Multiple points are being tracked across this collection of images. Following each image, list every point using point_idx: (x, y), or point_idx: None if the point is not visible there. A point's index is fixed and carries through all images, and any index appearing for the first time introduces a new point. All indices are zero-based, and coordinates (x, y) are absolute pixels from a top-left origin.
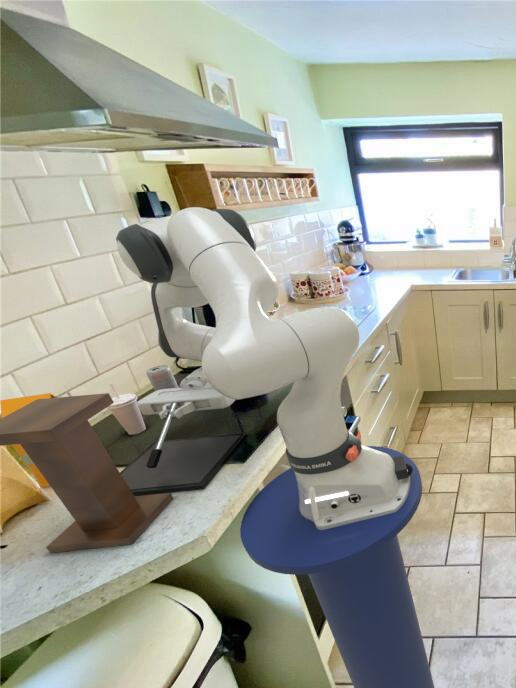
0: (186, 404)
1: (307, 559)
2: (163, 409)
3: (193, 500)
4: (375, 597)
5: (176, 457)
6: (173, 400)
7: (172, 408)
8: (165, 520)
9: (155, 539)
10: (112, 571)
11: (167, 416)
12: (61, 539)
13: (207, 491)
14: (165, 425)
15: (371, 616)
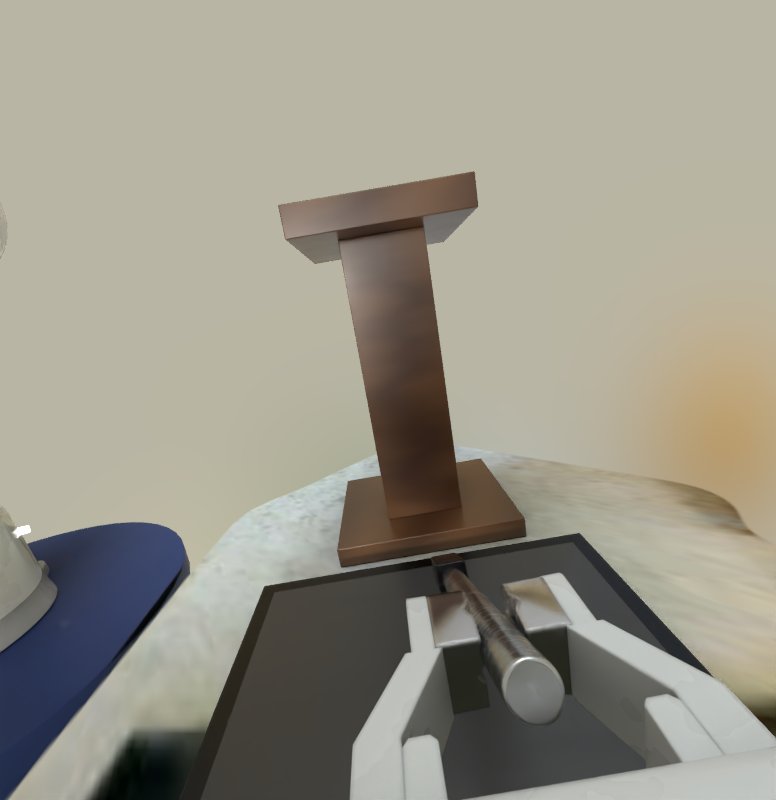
0: (384, 727)
1: (93, 531)
2: (606, 625)
3: (283, 567)
4: None
5: (479, 734)
6: (666, 766)
7: (493, 629)
8: (321, 526)
9: (316, 503)
10: (347, 473)
11: (509, 617)
12: (471, 466)
13: (255, 592)
14: (467, 589)
15: None
